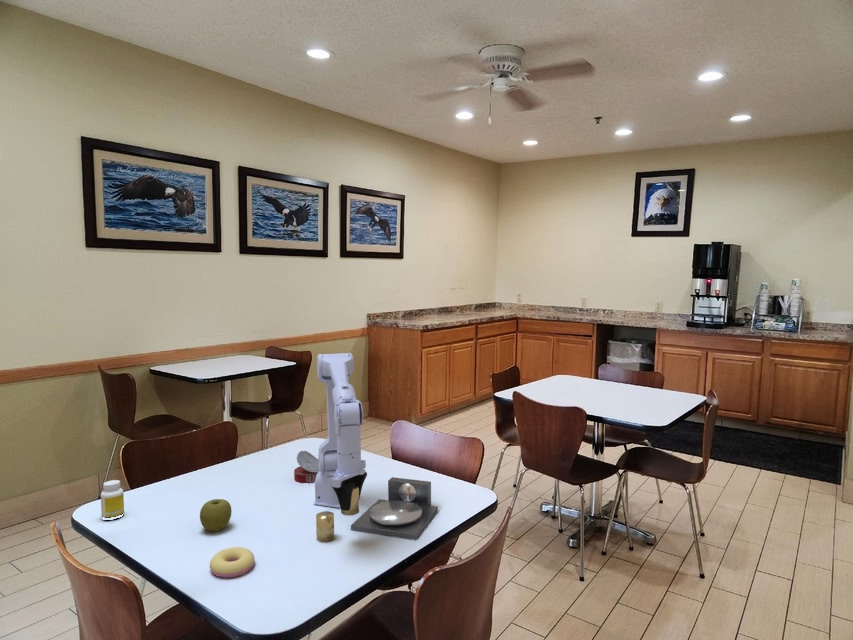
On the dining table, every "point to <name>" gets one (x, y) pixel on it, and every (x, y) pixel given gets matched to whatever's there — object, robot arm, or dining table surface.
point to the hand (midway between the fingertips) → (350, 505)
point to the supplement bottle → (112, 499)
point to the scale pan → (395, 512)
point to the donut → (232, 562)
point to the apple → (215, 514)
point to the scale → (401, 492)
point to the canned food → (306, 468)
